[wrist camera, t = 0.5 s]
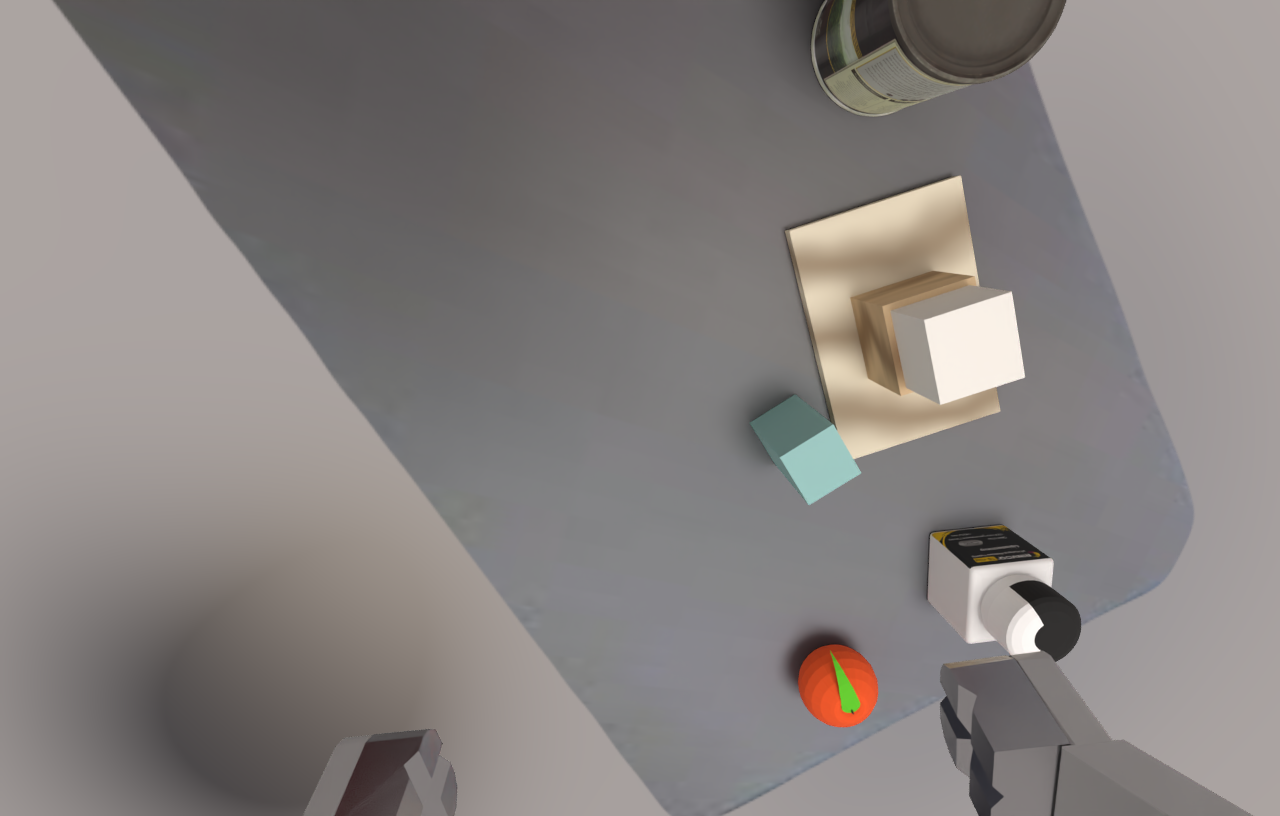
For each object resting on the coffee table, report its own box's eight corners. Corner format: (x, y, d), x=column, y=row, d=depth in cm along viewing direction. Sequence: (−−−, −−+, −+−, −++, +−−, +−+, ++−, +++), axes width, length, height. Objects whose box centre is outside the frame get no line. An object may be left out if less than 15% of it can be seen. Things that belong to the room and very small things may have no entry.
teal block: (749, 422, 58) (779, 457, 50) (794, 394, 58) (833, 424, 49) (775, 464, 60) (808, 505, 51) (819, 436, 59) (861, 473, 51)
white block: (890, 310, 49) (924, 320, 45) (969, 285, 49) (1011, 291, 45) (906, 387, 51) (940, 404, 46) (982, 362, 51) (1025, 377, 46)
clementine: (777, 634, 64) (801, 683, 57) (847, 609, 64) (880, 656, 57) (798, 702, 66) (824, 757, 59) (866, 678, 66) (900, 731, 59)
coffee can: (784, 18, 51) (861, -57, 37) (906, -63, 50) (1029, -170, 36) (848, 145, 53) (941, 119, 40) (964, 70, 53) (1099, 16, 39)
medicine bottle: (1003, 523, 63) (1099, 590, 52) (998, 592, 65) (1090, 672, 53) (928, 531, 63) (1008, 600, 51) (925, 601, 64) (1001, 683, 53)
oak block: (850, 297, 55) (882, 306, 49) (933, 270, 55) (974, 276, 49) (867, 378, 57) (900, 396, 51) (948, 352, 57) (990, 367, 51)
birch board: (784, 230, 54) (789, 230, 53) (952, 176, 55) (960, 175, 53) (839, 457, 60) (844, 462, 59) (992, 407, 60) (1000, 411, 59)
